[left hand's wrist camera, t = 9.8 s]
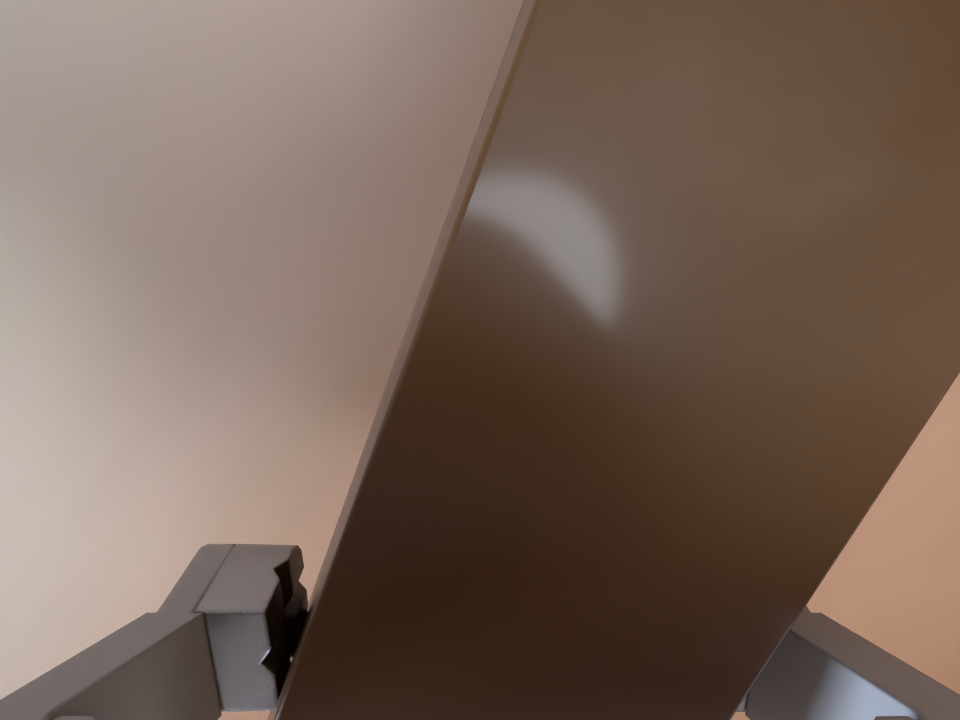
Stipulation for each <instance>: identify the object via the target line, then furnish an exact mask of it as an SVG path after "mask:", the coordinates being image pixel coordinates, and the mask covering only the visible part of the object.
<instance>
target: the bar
mask: <svg viewBox="0 0 960 720" xmlns="http://www.w3.org/2000/svg"><path fill="white" fill-rule="evenodd" d="M959 373H960V0H524V1H523V4H522V7H521V10H520V12H519V15H518V18H517V21H516V24H515V26H514V29H513V32H512V35H511V38H510V40H509V43H508V46H507V49H506V52H505V54H504V57H503V60H502V63H501V66H500V68H499V71H498V74H497V77H496V80H495V82H494V85H493V88H492V91H491V94H490V96H489V99H488V102H487V105H486V108H485V110H484V113H483V116H482V119H481V122H480V124H479V127H478V130H477V133H476V136H475V138H474V141H473V144H472V147H471V150H470V152H469V155H468V158H467V161H466V164H465V166H464V169H463V172H462V175H461V178H460V180H459V183H458V186H457V189H456V192H455V194H454V197H453V200H452V203H451V206H450V208H449V211H448V214H447V217H446V220H445V222H444V225H443V228H442V231H441V234H440V236H439V239H438V242H437V245H436V248H435V250H434V253H433V256H432V259H431V262H430V264H429V267H428V270H427V273H426V276H425V278H424V281H423V284H422V287H421V290H420V292H419V295H418V298H417V301H416V304H415V306H414V309H413V312H412V315H411V318H410V320H409V323H408V326H407V329H406V332H405V334H404V337H403V340H402V343H401V346H400V348H399V351H398V354H397V357H396V360H395V362H394V365H393V368H392V371H391V374H390V376H389V379H388V382H387V385H386V388H385V390H384V393H383V396H382V399H381V402H380V404H379V407H378V410H377V413H376V416H375V418H374V421H373V424H372V427H371V430H370V432H369V435H368V438H367V441H366V444H365V446H364V449H363V452H362V455H361V458H360V460H359V463H358V466H357V469H356V472H355V474H354V477H353V480H352V483H351V486H350V488H349V491H348V494H347V497H346V500H345V502H344V505H343V508H342V511H341V514H340V516H339V519H338V522H337V525H336V528H335V530H334V533H333V536H332V539H331V542H330V545H329V547H328V550H327V553H326V556H325V559H324V561H323V564H322V567H321V570H320V573H319V575H318V578H317V581H316V584H315V587H314V589H313V592H312V595H311V598H310V601H309V603H308V613H307V616H306V619H305V622H304V625H303V628H302V631H301V634H300V637H299V640H298V642H297V645H296V648H295V651H294V654H293V657H291V658H290V661H291V664H290V666H289V669H288V672H287V675H286V678H285V681H284V684H283V687H282V690H281V693H280V696H279V699H278V702H277V705H276V708H275V710H271V711H270V713H269V716H268V719H267V720H730V719H731V718H732V716H733V715H734V713H735V712H736V710H737V709H738V707H739V706H740V704H741V703H742V701H743V700H744V698H745V697H746V695H747V694H748V692H749V691H750V689H751V688H752V686H753V685H754V683H755V682H756V680H757V679H758V677H759V675H760V674H761V672H762V671H763V669H764V668H765V666H766V665H767V663H768V662H769V660H770V659H771V657H772V656H773V654H774V653H775V651H776V650H777V648H778V647H779V645H780V644H781V642H782V641H783V639H784V638H785V636H786V635H787V633H788V632H789V630H790V629H791V627H792V626H793V624H794V622H795V621H796V619H797V618H798V616H799V615H800V613H801V612H802V610H803V609H804V607H805V606H806V604H807V603H808V601H809V600H810V598H811V597H812V595H813V594H814V592H815V591H816V589H817V588H818V586H819V585H820V583H821V582H822V580H823V579H824V577H825V576H826V574H827V572H828V571H829V569H830V568H831V566H832V565H833V563H834V562H835V560H836V559H837V557H838V556H839V554H840V553H841V551H842V550H843V548H844V547H845V545H846V544H847V542H848V541H849V539H850V538H851V536H852V535H853V533H854V532H855V530H856V529H857V527H858V526H859V524H860V523H861V521H862V519H863V518H864V516H865V515H866V513H867V512H868V510H869V509H870V507H871V506H872V504H873V503H874V501H875V500H876V498H877V497H878V495H879V494H880V492H881V491H882V489H883V488H884V486H885V485H886V483H887V482H888V480H889V479H890V477H891V476H892V474H893V473H894V471H895V470H896V468H897V466H898V465H899V463H900V462H901V460H902V459H903V457H904V456H905V454H906V453H907V451H908V450H909V448H910V447H911V445H912V444H913V442H914V441H915V439H916V438H917V436H918V435H919V433H920V432H921V430H922V429H923V427H924V426H925V424H926V423H927V421H928V420H929V418H930V417H931V415H932V413H933V412H934V410H935V409H936V407H937V406H938V404H939V403H940V401H941V400H942V398H943V397H944V395H945V394H946V392H947V391H948V389H949V388H950V386H951V385H952V383H953V382H954V380H955V379H956V377H957V376H958V374H959Z"/></svg>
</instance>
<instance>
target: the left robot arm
mask: <svg viewBox="0 0 960 720" xmlns="http://www.w3.org/2000/svg"><path fill="white" fill-rule="evenodd" d="M303 568H304V564H303V558H302V551H301V549H300V548H299V546H298V545H262V544H237V545H236V544H206V545H204V546H202V547H201V548H200V549H199V550H198V552H197V553H196V555H195V556H194V558H193V559H192V561H191V562H190V564H189V565H188V567H187V568H186V570H185V571H184V573H183V574H182V575H181V577H180V578H179V580H178V581H177V583H176V584H175V586H174V587H173V589H172V590H171V592H170V593H169V595H168V596H167V598H166V599H165V601H164V602H163V604H162V605H161V607H160V608H159V610H158V611H157V613H146V614H144V615H142V616H141V617H139V618H137V619H136V620H134V621H132V622H131V623H129V624H127V625H126V626H124V627H122V628H121V629H119V630H117V631H115V632H114V633H112V634H110V635H109V636H107V637H105V638H104V639H102V640H100V641H99V642H97V643H95V644H94V645H92V646H90V647H89V648H87V649H85V650H84V651H82V652H80V653H78V654H77V655H75V656H73V657H72V658H70V659H68V660H67V661H65V662H63V663H62V664H60V665H58V666H57V667H55V668H53V669H52V670H50V671H48V672H47V673H45V674H43V675H42V676H40V677H38V678H36V679H35V680H33V681H31V682H30V683H28V684H26V685H25V686H23V687H21V688H20V689H18V690H16V691H15V692H13V693H11V694H10V695H8V696H6V697H5V698H3V699H1V700H0V720H217V719H218V718H219V717H220V716H221V715H222V714H221V712H231V711H265V710H275V708H276V705H277V702H278V699H279V696H280V693H281V690H282V687H283V684H284V681H285V678H286V675H287V672H288V669H289V666H290V664H291V661H290V658H291V657H293V654H294V651H295V648H296V645H297V642H298V640H299V637H300V634H301V631H302V628H303V625H304V622H305V619H306V616H307V613H308V600H307V590H306V589H305V588H304V587H303V585H302V584H301V583H300V582H299V578H300V576H301V573H302V571H303ZM736 712H746V713H745V715H746V716H747V717H748V718H749V719H750V720H960V695H959V694H957V693H956V692H954V691H952V690H951V689H949V688H947V687H945V686H944V685H942V684H940V683H939V682H937V681H935V680H934V679H932V678H930V677H929V676H927V675H925V674H923V673H922V672H920V671H918V670H917V669H915V668H913V667H912V666H910V665H908V664H907V663H905V662H903V661H901V660H900V659H898V658H896V657H895V656H893V655H891V654H890V653H888V652H886V651H885V650H883V649H881V648H879V647H878V646H876V645H874V644H873V643H871V642H869V641H868V640H866V639H864V638H862V637H861V636H859V635H857V634H856V633H854V632H852V631H851V630H849V629H847V628H846V627H844V626H842V625H840V624H839V623H837V622H835V621H834V620H832V619H830V618H829V617H827V616H825V615H824V614H822V613H811V612H810V611H809V609H808V608H807V606H805V607H804V609H803V610H802V612H801V613H800V615H799V616H798V618H797V619H796V621H795V622H794V624H793V626H792V627H791V629H790V630H789V632H788V633H787V635H786V636H785V638H784V639H783V641H782V642H781V644H780V645H779V647H778V648H777V650H776V651H775V653H774V654H773V656H772V657H771V659H770V660H769V662H768V663H767V665H766V666H765V668H764V669H763V671H762V672H761V674H760V675H759V677H758V679H757V680H756V682H755V683H754V685H753V686H752V688H751V689H750V691H749V692H748V694H747V695H746V697H745V698H744V700H743V701H742V703H741V704H740V706H739V707H738V709H737V710H736Z"/></svg>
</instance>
